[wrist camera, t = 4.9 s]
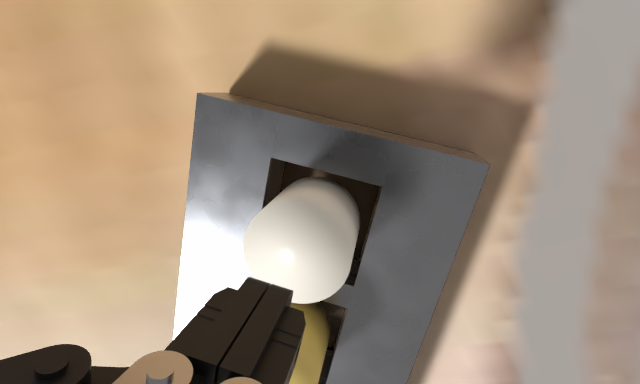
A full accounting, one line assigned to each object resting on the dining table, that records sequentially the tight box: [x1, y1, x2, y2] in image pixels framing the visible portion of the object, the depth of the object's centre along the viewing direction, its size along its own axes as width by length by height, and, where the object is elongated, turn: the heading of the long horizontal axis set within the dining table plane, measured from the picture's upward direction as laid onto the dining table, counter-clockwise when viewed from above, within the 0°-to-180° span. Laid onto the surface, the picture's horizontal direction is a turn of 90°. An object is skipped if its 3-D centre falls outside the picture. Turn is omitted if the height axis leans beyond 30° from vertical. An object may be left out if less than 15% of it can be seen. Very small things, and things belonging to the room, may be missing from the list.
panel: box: [173, 93, 490, 384], centre depth 21 cm, size 14×24×3 cm, turn 168°
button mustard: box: [289, 302, 330, 384], centre depth 18 cm, size 5×5×4 cm
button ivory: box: [243, 177, 360, 304], centre depth 16 cm, size 5×5×4 cm
